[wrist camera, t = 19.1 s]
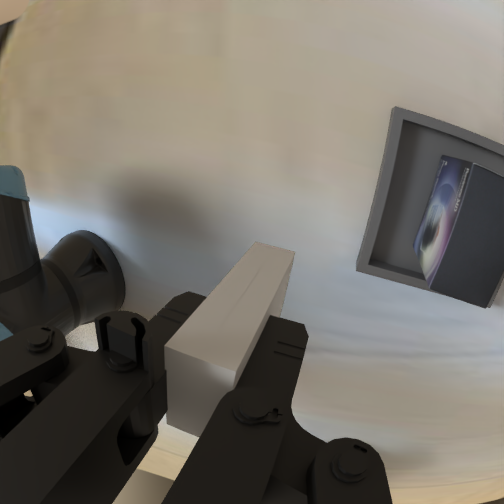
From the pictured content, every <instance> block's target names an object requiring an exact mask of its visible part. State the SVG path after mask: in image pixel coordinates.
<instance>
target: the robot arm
mask: <svg viewBox="0 0 504 504" xmlns="http://www.w3.org/2000/svg"><path fill="white" fill-rule="evenodd" d="M28 201H30V199H29V197H28V196H27V191H26V185H25V180H24V175H23V173H22V171H21V170H20V169H19V168H18V167H16V166H11V165H0V504H112V503H113V502H114V500H115V499H116V497H117V496H118V494H119V493H120V491H121V490H122V489H123V487H124V486H125V484H126V483H127V481H128V480H129V478H130V477H131V476H132V474H133V473H134V471H135V470H136V468H137V467H138V465H139V464H140V462H141V461H142V459H143V458H144V457H145V455H146V454H147V452H148V451H149V449H150V448H151V446H152V445H153V443H154V442H155V440H156V438H157V435H158V423H159V422H160V420H161V419H162V418H163V416H164V415H165V413H166V417H167V424H168V425H171V426H173V427H175V428H178V429H180V430H183V431H185V432H187V433H190V434H192V435H195V436H197V437H200V438H199V439H198V441H197V443H196V445H195V446H194V448H193V450H192V452H191V454H190V455H189V457H188V459H187V461H186V462H185V464H184V466H183V468H182V469H181V471H180V473H179V474H178V476H177V478H176V480H175V481H174V483H173V485H172V487H171V488H170V490H169V492H168V493H167V495H166V497H165V498H164V500H163V502H162V503H161V504H393V503H392V499H391V494H390V489H389V485H388V480H387V476H386V472H385V467H384V464H383V461H382V459H381V457H380V455H379V453H378V452H377V451H376V450H375V449H373V448H372V447H371V446H370V445H369V444H367V443H364V442H362V441H360V440H358V439H351V438H340V439H334V440H332V441H330V442H328V443H326V442H324V441H323V440H321V439H319V438H317V437H315V436H313V435H311V434H310V433H309V432H307V431H306V430H304V429H303V428H302V427H301V426H300V425H299V424H298V423H297V421H296V420H295V418H294V416H293V414H292V409H291V403H292V398H293V394H294V390H295V387H296V383H297V379H298V376H299V372H300V368H301V364H302V360H303V357H304V353H305V349H306V345H307V341H308V337H309V336H308V334H307V331H306V328H305V326H304V324H301V323H297V322H294V321H290V320H286V319H283V318H279V317H280V315H281V311H282V307H283V302H284V298H285V294H286V290H287V286H288V281H289V277H290V273H291V268H292V264H293V260H294V255H295V252H293V251H289V250H286V249H282V248H278V247H274V246H270V245H266V244H262V243H258V242H255V243H254V244H253V245H252V247H251V248H250V249H249V250H248V251H247V252H246V253H245V255H244V256H243V257H242V258H241V259H240V260H239V261H238V262H237V264H236V265H235V266H234V267H233V268H232V269H231V270H230V272H229V273H228V274H227V275H226V276H225V277H224V278H223V279H222V281H221V282H220V283H219V284H218V285H217V286H216V287H215V289H214V290H213V291H212V292H211V293H210V294H209V295H208V297H205V296H202V295H199V294H195V293H192V292H189V291H188V292H186V293H183V294H181V295H178V296H176V297H174V298H173V299H172V300H171V301H170V302H169V303H168V304H167V305H166V306H165V308H162V309H161V310H160V311H159V312H158V313H157V316H156V315H155V316H154V317H153V318H152V319H151V320H150V321H149V322H148V321H147V319H146V318H144V317H142V316H140V315H139V314H137V313H133V312H129V311H118V310H119V309H120V307H121V306H122V304H123V301H124V296H125V284H124V278H123V274H122V271H121V268H120V266H119V264H118V261H117V259H116V258H115V256H114V254H113V253H112V251H111V250H110V248H109V247H108V246H107V245H106V243H105V242H104V241H103V240H101V239H100V238H99V237H98V236H96V235H95V234H93V233H91V232H89V231H85V230H78V231H75V232H73V233H70V234H68V235H66V236H64V237H63V238H62V239H61V240H60V241H59V242H58V243H57V244H56V245H55V246H54V247H53V248H52V249H51V250H50V251H49V252H48V253H47V255H46V256H45V257H44V258H43V259H41V260H40V258H39V253H38V249H37V244H36V240H35V235H34V230H33V225H32V220H31V214H30V208H29V202H28ZM92 322H95V327H96V334H97V340H98V347H99V349H98V350H97V351H96V352H93V351H87V350H83V349H78V348H74V347H70V346H67V344H66V339H65V336H66V335H67V334H69V333H70V332H71V331H72V330H74V329H75V328H77V327H78V326H80V325H84V324H88V323H92ZM28 390H31V392H32V395H33V396H31V397H28V396H25V395H24V394H23V393H25V392H27V391H28Z"/></svg>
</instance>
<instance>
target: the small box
mask: <svg viewBox="0 0 504 504" xmlns="http://www.w3.org/2000/svg"><path fill="white" fill-rule="evenodd" d="M413 248H414V250H415V253H416V255H417V258H418V260H419V263H420V265H421V268H422V270H423V273H424V276H425V278H426V281H427V284H428V287H429V289H430V290H433V291H435V292H438V293H441V294H444V295H447V296H450V297H453V298H455V299H458V300H461V301H464V302H467V303H470V304H473V305H476V306H479V307H482V308H486V307H487V305H488V304H489V302H490V300H491V298H492V296H493V294H494V292H495V290H496V288H497V285H498V283H499V281H500V279H501V277H502V275H503V272H504V176H503V175H501V174H499V173H497V172H495V171H493V170H491V169H488V168H487V167H484V166H482V165H480V164H477V163H476V162H470V161H466V160H462V159H458V158H454V157H450V156H446V155H442V156H441V159H440V162H439V166H438V170H437V173H436V177H435V180H434V183H433V187H432V190H431V193H430V196H429V200H428V203H427V206H426V209H425V212H424V215H423V218H422V221H421V224H420V226H419V229H418V232H417V235H416V238H415V240H414V243H413Z"/></svg>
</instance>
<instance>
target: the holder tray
mask: <svg viewBox="0 0 504 504" xmlns="http://www.w3.org/2000/svg"><path fill="white" fill-rule="evenodd" d="M442 155H446V156H450V157H454V158H458V159H462V160H466V161H470V162H476V163H477V164H480V165H482V166H484V167H487V168H488V169H491V170H493V171H495V172H497V173H499V174H501V175H503V176H504V145H502V144H499V143H497V142H495V141H493V140H490V139H488V138H486V137H483V136H481V135H478V134H476V133H473V132H471V131H468V130H466V129H463V128H460V127H458V126H455V125H452V124H449V123H446V122H444V121H441V120H438V119H435V118H432V117H429V116H426V115H423V114H419V113H416V112H413V111H409V110H406V109H403V108H399V107H393V108H392V112H391V118H390V123H389V129H388V134H387V140H386V145H385V150H384V155H383V159H382V164H381V169H380V173H379V178H378V182H377V186H376V191H375V195H374V199H373V203H372V207H371V211H370V215H369V219H368V223H367V226H366V230H365V234H364V238H363V241H362V245H361V248H360V252H359V255H358V259H357V262H356V271H358V272H362V273H366V274H369V275H373V276H377V277H380V278H384V279H388V280H391V281H395V282H399V283H402V284H406V285H409V286H413V287H417V288H420V289H424V290H428V291H431V292H435V291H433V290H430V289H429V287H428V284H427V281H426V278H425V276H424V273H423V270H422V268H421V265H420V263H419V260H418V258H417V255H416V253H415V250H414V248H413V243H414V240H415V238H416V235H417V232H418V229H419V226H420V224H421V221H422V218H423V215H424V212H425V209H426V206H427V203H428V200H429V196H430V193H431V190H432V187H433V183H434V180H435V177H436V173H437V170H438V166H439V162H440V159H441V156H442ZM503 278H504V272H503V275H502V277H501V279H500V281H499V283H498V285H497V288H496V290H495V292H494V294H493V296H492V298H491V300H490V302H489V304H488V305H487V307H488V308H490V307H491V305H492V303H493V301H494V299H495V296H496V294H497V292H498V290H499V287H500V285H501V283H502V280H503ZM435 293H438V292H435ZM438 294H441V293H438ZM442 295H444V294H442ZM446 296H447V295H446ZM449 297H450V296H449Z"/></svg>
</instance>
